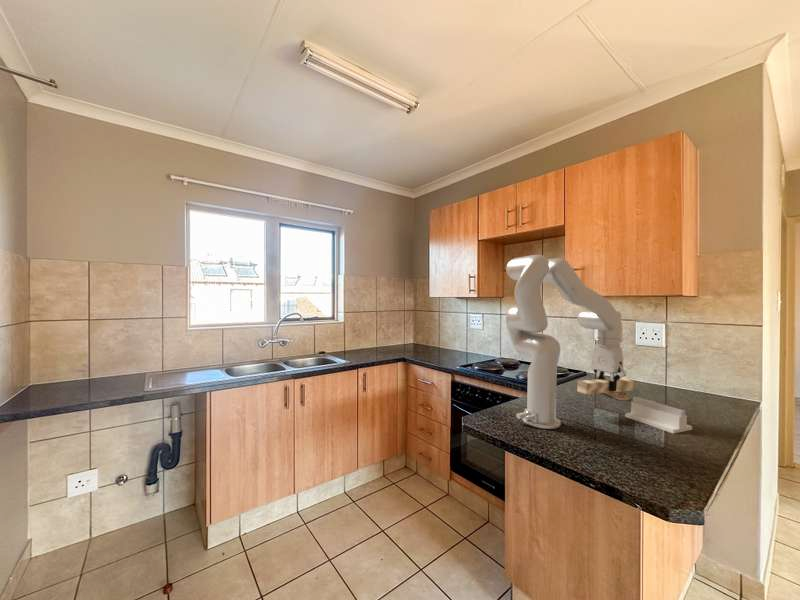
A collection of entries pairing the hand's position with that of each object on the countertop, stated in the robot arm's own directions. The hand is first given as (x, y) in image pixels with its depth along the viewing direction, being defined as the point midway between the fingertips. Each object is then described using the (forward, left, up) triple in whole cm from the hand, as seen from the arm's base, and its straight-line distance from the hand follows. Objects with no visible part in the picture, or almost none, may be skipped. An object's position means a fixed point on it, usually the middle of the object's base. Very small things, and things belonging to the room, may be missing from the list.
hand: (606, 388), depth 127 cm
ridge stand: (+9, -13, -10) cm, 18 cm away
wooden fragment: (+29, +19, -10) cm, 36 cm away
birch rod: (0, 0, -1) cm, 1 cm away
